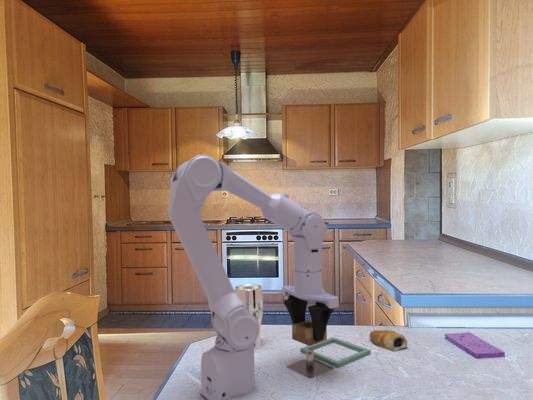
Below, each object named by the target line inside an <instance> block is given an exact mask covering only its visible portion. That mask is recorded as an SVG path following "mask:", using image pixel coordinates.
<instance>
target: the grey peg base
mask: <svg viewBox="0 0 533 400" xmlns="http://www.w3.org/2000/svg"><path fill="white" fill-rule="evenodd" d="M314 352H315V351H314V350H306V354H305V359H301V360H299V361H296V362H294V363H291V364H289V365H286V368H288V369H290V370H292V371H293V372H296V373H298V374H300V375H301V376H304V377H305V378H308V379H313V378H315V377H317V376H319V375H322V374H324V373H326V372H328V371H331V370H333V369H335V367H334V366H331V365H329V364H327V363H324V362H322V361H320V360H317V359H315V358H314Z"/></svg>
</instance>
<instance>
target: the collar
mask: <svg viewBox="0 0 533 400" xmlns="http://www.w3.org/2000/svg"><path fill="white" fill-rule="evenodd" d="M327 327H328V325H327V326H326V330H325V334H324V339H323V340H320V341H317V342H316V341H314V337H313V325H312V319H307V320H305V321H303V322H299V323H296V324H293V323H292V324H291V335H292V337H291V340H293V341H296V342H298V343H301V344H303V345H306V346H311V345H314V344H317V343H320V342H323V341H326V340H327V339H328V337H327V336H328V334H327V333H328V332H327V331H328V330H327Z"/></svg>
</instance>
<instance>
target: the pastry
mask: <svg viewBox="0 0 533 400" xmlns="http://www.w3.org/2000/svg"><path fill="white" fill-rule="evenodd" d="M369 338H370V339H371V341H372V343H374V346H377V347H378V348H381V349H385V350H387V351H390V352H397V351H399V350H402V349H405V348H407V346H408V340H407V338H406V337H405V336H404V334H400V333H399V332H398V333H397V332H396V331H394V330H391V329H389V330H387V329H385V330H384V329H383V330H382V329H379V330H377V329H376V330H372V331H370V333H369Z"/></svg>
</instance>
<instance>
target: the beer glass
mask: <svg viewBox="0 0 533 400" xmlns="http://www.w3.org/2000/svg"><path fill="white" fill-rule="evenodd" d="M234 291H235V293H236V294H237V295H238V297H239V298H240V299H241V301H242V302H243V303H244V305H245V307H246V309H247V311H248V312H249V313H250V314H252V315H253V316H254V317H255V318H256V319H257V321H258V323H259V334H258V337H257V339H256V341H255V342H254V350H256V349H257V348H260V347H261V346H262V345H263V344H262V343H263V342H262V339H261V338H262V337H261V328H262V320H263V313H264V296H263V286H262V285H260V284H255V283H253V284H251V283H249V284H240V285H236V286H234Z"/></svg>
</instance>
